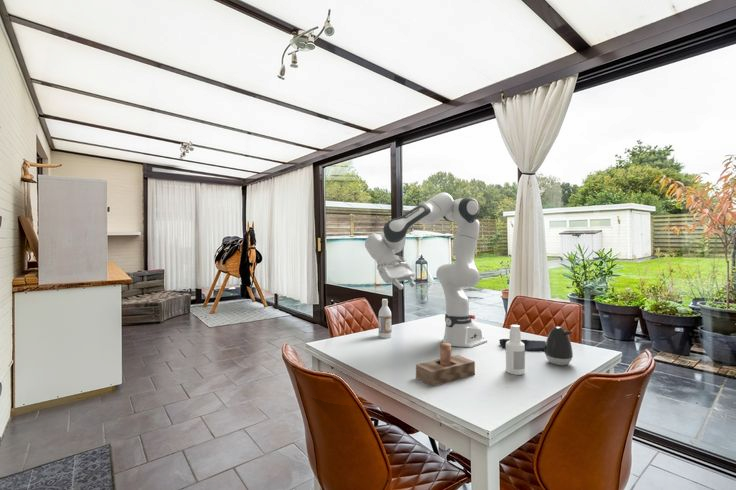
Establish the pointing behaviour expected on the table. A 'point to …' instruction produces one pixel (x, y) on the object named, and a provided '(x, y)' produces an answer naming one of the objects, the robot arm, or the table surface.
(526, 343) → the dark slate chunk
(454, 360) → the socket block
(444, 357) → the peg
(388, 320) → the bath foam
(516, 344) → the white bottle
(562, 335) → the pump dispenser
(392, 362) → the table surface
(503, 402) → the table surface
